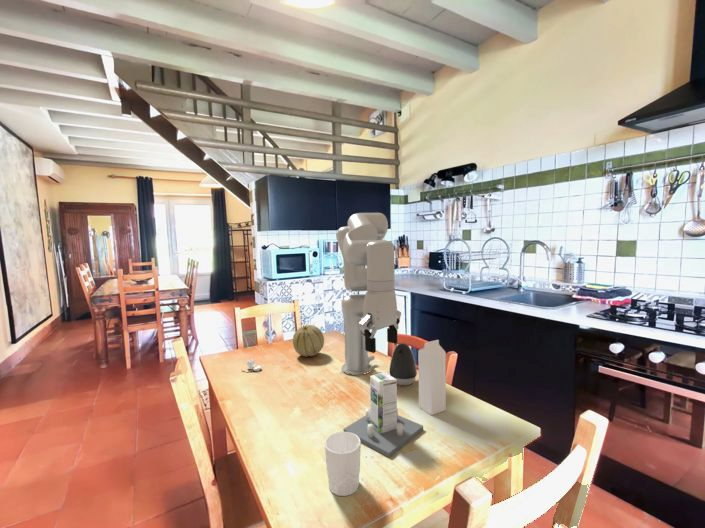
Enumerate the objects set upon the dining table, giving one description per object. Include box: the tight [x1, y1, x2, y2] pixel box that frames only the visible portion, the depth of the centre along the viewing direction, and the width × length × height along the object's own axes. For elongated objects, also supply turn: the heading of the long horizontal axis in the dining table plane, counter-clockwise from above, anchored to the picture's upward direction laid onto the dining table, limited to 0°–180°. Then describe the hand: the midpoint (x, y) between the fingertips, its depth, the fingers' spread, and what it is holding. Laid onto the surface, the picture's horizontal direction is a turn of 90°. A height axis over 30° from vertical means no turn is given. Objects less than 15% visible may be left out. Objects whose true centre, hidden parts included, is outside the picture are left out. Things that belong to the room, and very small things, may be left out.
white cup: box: [324, 431, 362, 497], centre depth 73 cm, size 8×8×10 cm
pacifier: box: [246, 358, 262, 372], centre depth 141 cm, size 9×8×4 cm
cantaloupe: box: [292, 324, 325, 358], centre depth 156 cm, size 15×15×15 cm
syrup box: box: [369, 372, 398, 434], centre depth 93 cm, size 6×6×14 cm
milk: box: [417, 339, 447, 416], centre depth 104 cm, size 6×6×22 cm
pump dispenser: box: [389, 342, 418, 386], centre depth 124 cm, size 10×10×15 cm
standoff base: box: [343, 408, 424, 458], centre depth 93 cm, size 16×16×4 cm
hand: (381, 347), depth 92 cm, fingers open, 9 cm apart
